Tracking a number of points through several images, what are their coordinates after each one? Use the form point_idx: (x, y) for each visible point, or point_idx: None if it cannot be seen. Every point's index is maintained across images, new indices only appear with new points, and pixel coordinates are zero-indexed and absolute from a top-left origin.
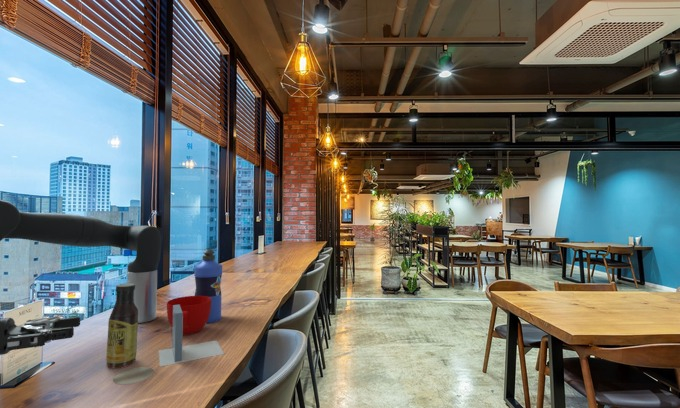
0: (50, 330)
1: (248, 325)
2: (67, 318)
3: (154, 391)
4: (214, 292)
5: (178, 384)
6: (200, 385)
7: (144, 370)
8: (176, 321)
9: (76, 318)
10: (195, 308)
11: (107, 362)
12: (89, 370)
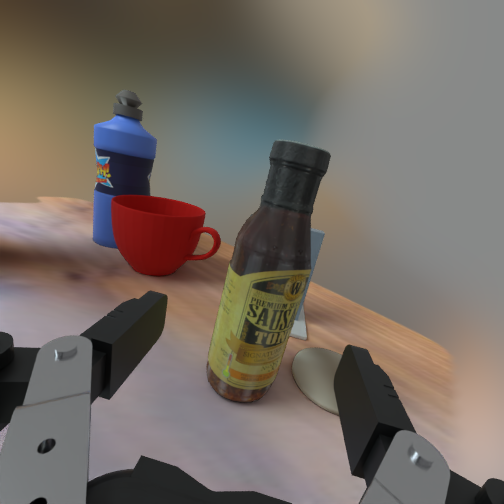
0: (417, 435)
1: (206, 243)
2: (127, 318)
3: (408, 376)
4: (149, 190)
5: (386, 347)
6: (396, 334)
7: (316, 357)
8: (319, 249)
9: (161, 301)
10: (203, 221)
11: (246, 391)
12: (215, 447)
